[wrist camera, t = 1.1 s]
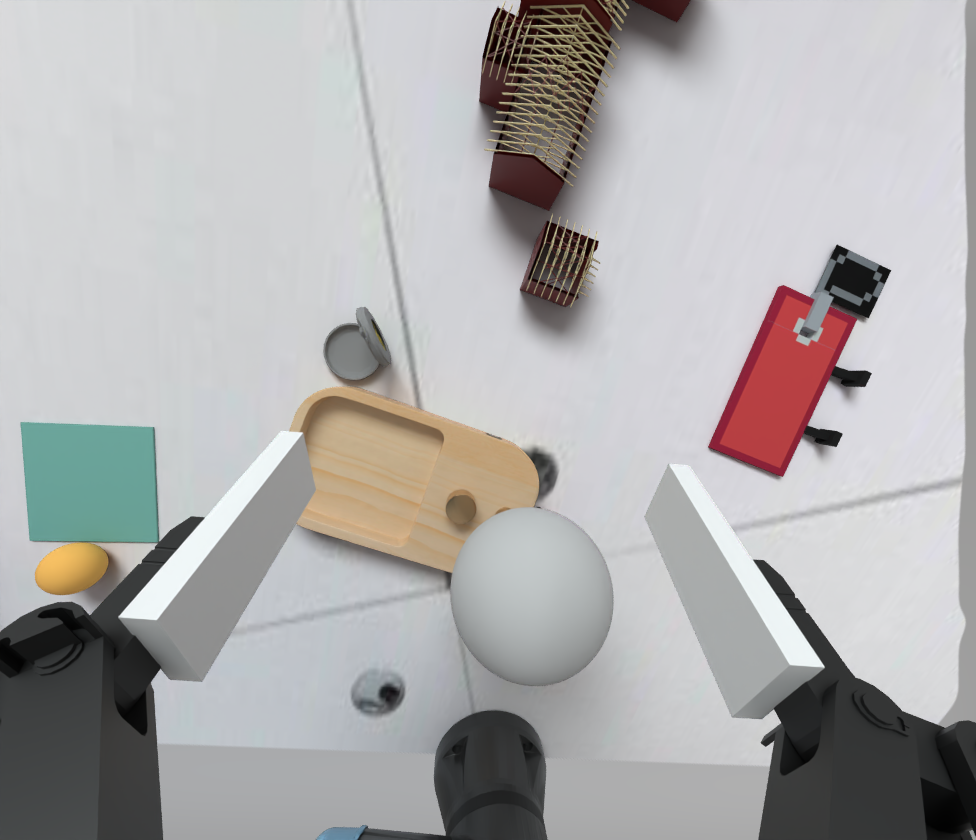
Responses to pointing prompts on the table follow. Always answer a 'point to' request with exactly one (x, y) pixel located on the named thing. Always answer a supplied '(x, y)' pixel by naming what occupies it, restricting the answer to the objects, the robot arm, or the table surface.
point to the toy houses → (574, 54)
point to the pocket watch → (356, 348)
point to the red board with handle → (797, 364)
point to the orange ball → (71, 568)
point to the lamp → (460, 528)
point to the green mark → (90, 482)
